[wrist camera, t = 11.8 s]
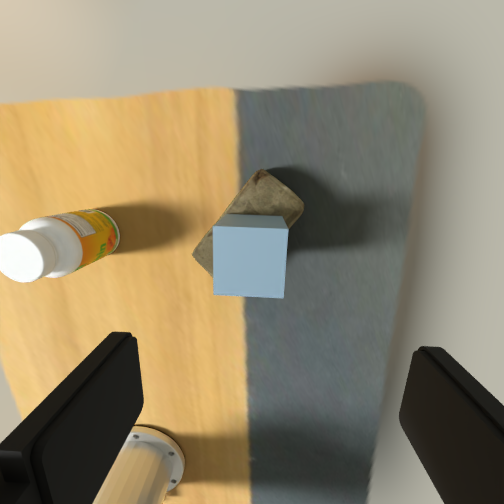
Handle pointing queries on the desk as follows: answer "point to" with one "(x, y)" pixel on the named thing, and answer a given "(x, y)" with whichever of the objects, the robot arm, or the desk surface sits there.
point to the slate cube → (249, 255)
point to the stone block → (255, 209)
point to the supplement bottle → (57, 245)
